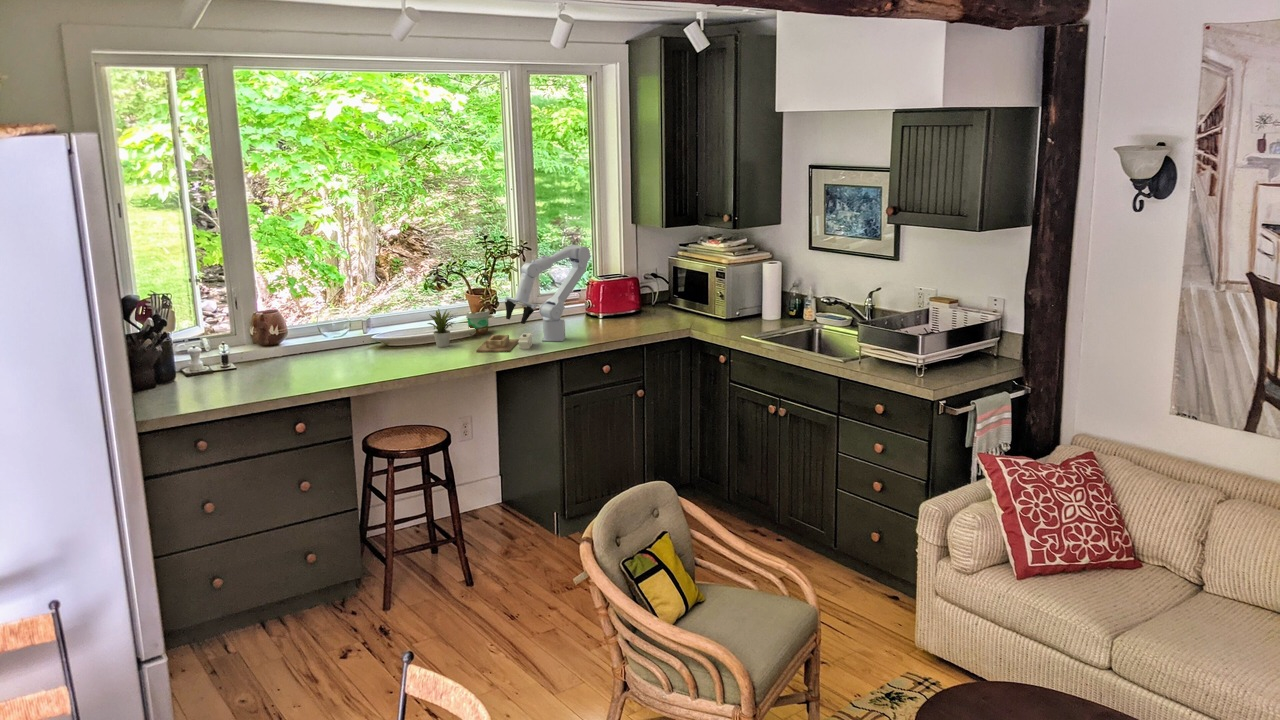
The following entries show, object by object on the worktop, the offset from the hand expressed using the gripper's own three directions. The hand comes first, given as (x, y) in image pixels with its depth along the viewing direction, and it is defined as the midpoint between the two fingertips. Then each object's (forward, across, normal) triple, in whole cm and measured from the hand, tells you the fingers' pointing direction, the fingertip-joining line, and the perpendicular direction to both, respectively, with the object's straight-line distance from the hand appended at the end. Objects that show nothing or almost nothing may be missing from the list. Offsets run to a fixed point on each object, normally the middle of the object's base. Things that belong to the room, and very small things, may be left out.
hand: (515, 321), depth 425 cm
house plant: (+19, -27, -7) cm, 34 cm away
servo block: (+9, +6, +4) cm, 12 cm away
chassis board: (+12, -5, 0) cm, 13 cm away
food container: (+10, -26, +19) cm, 34 cm away
